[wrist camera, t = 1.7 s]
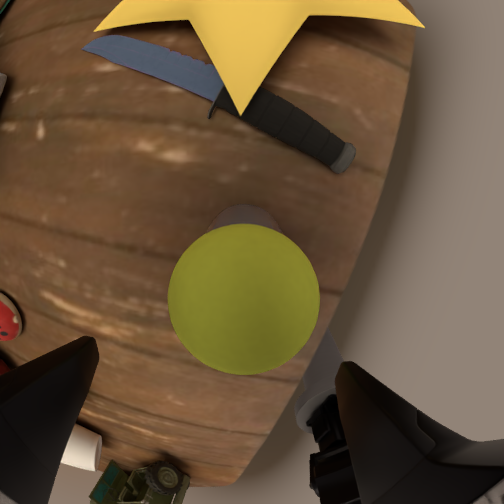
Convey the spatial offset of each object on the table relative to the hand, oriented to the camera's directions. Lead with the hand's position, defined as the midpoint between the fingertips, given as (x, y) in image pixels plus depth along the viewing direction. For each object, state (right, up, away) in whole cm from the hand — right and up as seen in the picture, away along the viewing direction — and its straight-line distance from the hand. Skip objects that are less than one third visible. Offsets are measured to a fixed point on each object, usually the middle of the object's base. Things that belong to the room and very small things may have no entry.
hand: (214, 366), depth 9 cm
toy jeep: (-15, -40, +19) cm, 47 cm away
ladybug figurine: (-30, -4, +14) cm, 33 cm away
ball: (+1, +2, +3) cm, 4 cm away
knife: (-1, +18, +6) cm, 19 cm away
